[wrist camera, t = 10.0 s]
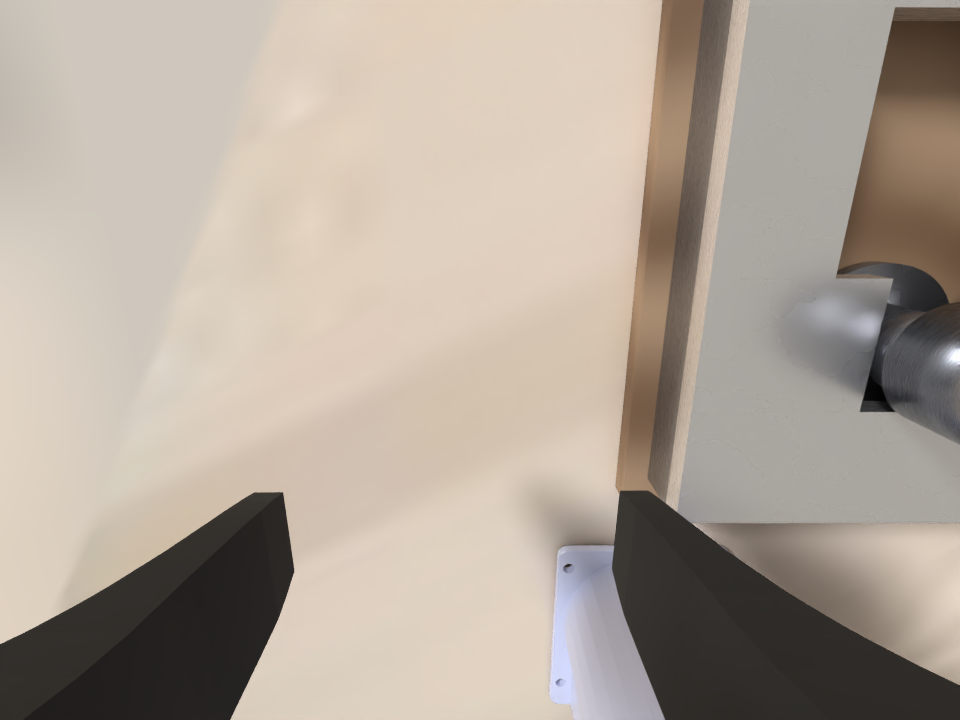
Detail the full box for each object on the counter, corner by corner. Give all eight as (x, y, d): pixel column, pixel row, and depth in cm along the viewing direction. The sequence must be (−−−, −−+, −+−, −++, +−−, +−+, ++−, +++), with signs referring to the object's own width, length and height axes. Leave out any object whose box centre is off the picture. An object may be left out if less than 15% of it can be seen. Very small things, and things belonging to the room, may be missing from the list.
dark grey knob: (909, 402, 20) (1180, 525, 12) (771, 401, 20) (956, 523, 12) (951, 262, 18) (1295, 302, 10) (800, 260, 18) (1035, 299, 10)
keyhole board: (991, 486, 22) (1014, 498, 21) (615, 485, 22) (621, 498, 21) (1203, -103, 16) (1249, -123, 15) (672, -105, 16) (685, -125, 15)
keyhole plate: (998, 478, 21) (1085, 523, 18) (647, 478, 21) (675, 523, 18) (1201, -82, 15) (1379, -153, 12) (714, -84, 15) (772, -156, 12)
